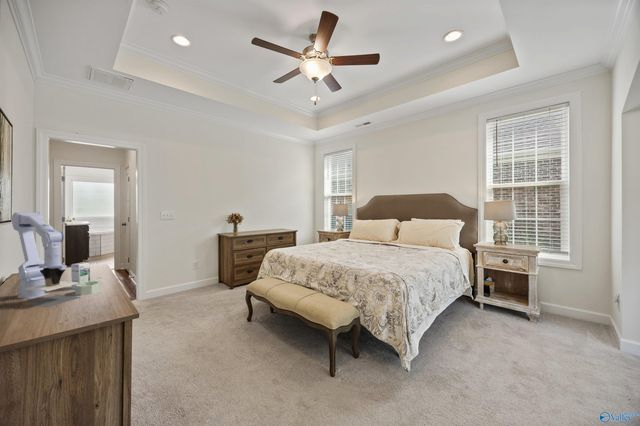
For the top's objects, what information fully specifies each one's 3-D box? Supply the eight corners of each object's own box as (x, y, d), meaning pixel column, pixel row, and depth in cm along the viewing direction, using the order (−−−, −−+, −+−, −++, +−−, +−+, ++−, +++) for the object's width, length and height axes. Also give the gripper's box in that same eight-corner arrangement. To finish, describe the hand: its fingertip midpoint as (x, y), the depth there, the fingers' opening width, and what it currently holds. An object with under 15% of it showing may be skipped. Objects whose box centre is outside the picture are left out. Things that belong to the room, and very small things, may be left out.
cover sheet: (25, 289, 123) (25, 281, 123) (58, 282, 136) (58, 274, 136) (46, 291, 120) (46, 282, 120) (78, 283, 133) (77, 275, 133)
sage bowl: (70, 294, 137) (70, 285, 137) (90, 289, 147) (90, 280, 147) (85, 296, 135) (85, 286, 135) (104, 290, 145) (104, 281, 145)
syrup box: (79, 290, 145) (79, 264, 145) (71, 289, 146) (71, 263, 146) (90, 287, 151) (90, 262, 150) (82, 286, 152) (82, 261, 152)
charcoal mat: (21, 304, 123) (21, 304, 123) (57, 295, 137) (57, 294, 137) (48, 308, 120) (48, 307, 120) (81, 297, 133) (81, 297, 133)
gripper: (31, 256, 125) (31, 284, 125) (54, 258, 122) (54, 286, 123) (48, 254, 132) (49, 280, 132) (71, 255, 129) (71, 282, 129)
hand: (52, 283), depth 128 cm, fingers closed on cover sheet, 3 cm apart
